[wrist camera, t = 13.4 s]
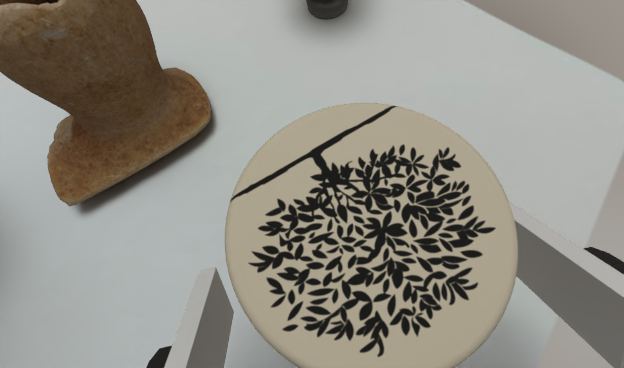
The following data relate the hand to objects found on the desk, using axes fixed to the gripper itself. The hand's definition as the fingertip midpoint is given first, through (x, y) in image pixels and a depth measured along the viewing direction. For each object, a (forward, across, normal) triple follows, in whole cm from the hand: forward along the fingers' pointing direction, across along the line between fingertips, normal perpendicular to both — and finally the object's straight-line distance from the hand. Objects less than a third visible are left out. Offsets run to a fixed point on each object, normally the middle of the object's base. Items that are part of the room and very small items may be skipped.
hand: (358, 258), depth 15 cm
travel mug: (+7, 0, -8) cm, 11 cm away
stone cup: (+21, -17, +6) cm, 28 cm away
